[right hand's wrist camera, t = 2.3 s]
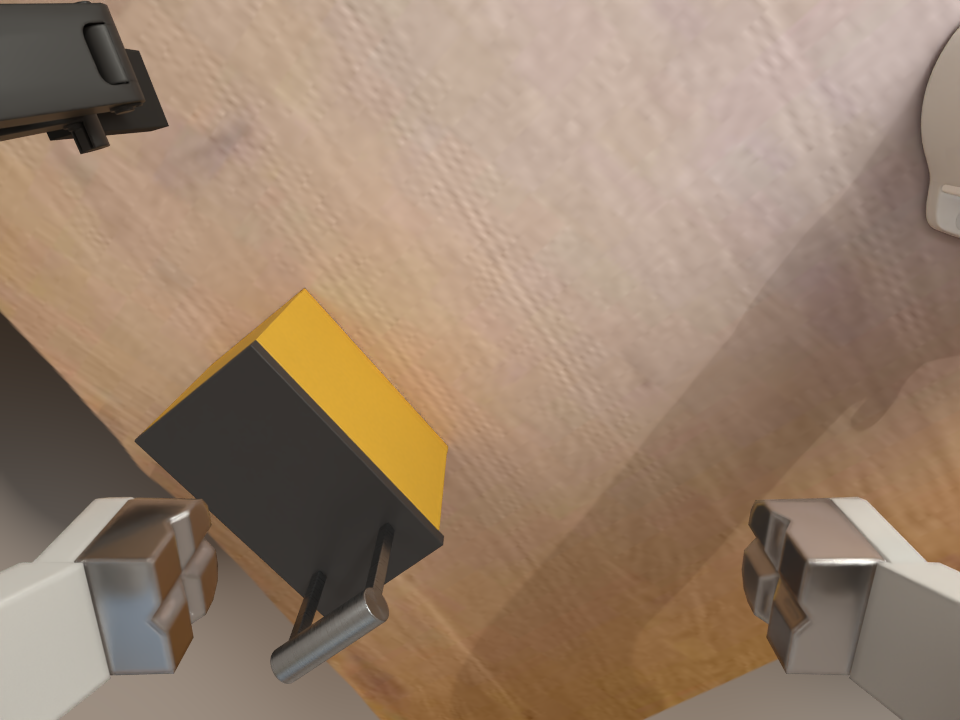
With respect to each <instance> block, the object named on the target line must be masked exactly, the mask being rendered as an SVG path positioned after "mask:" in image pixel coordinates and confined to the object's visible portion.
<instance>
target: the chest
mask: <svg viewBox="0 0 960 720" xmlns="http://www.w3.org/2000/svg"><path fill="white" fill-rule="evenodd" d="M255 340H257V341H258V342H259V344H260V345H261V346H262V347H263V348H264V349H265V350H266V351H267V352H268V353H269V354H270V355H271V356H272V357H273V358H274V359H275V360H276V361H277V362H278V363H279V364H280V365H281V367H282V368H283V369H284V370H285V371H286V372H287V373H288V374H289V375H290V376H291V377H292V378H293V379H294V380H295V381H296V382H297V383H298V384H299V385H300V386H301V387H302V388H303V389H304V391H305V392H306V393H307V394H308V395H309V396H310V397H311V398H312V399H313V400H314V401H315V402H316V403H317V404H318V405H319V406H320V407H321V408H322V409H323V410H324V411H325V412H326V414H327V415H328V416H329V417H330V418H331V419H332V420H333V421H334V422H335V423H336V424H337V425H338V426H339V427H340V428H341V429H342V430H343V431H344V432H345V433H346V434H347V435H348V437H349V438H350V439H351V440H352V441H353V442H354V443H355V444H356V445H357V446H358V447H359V448H360V449H361V450H362V451H363V452H364V453H365V454H366V455H367V456H368V457H369V458H370V459H371V461H372V462H373V463H374V464H375V465H376V466H377V467H378V468H379V469H380V470H381V471H382V472H383V473H384V474H385V475H386V476H387V477H388V478H389V479H390V480H391V481H392V482H393V484H394V485H395V486H396V487H397V488H398V489H399V490H400V491H401V492H402V493H403V494H404V495H405V496H406V497H407V498H408V499H409V500H410V501H411V502H412V503H413V504H414V505H415V506H416V508H417V509H418V510H419V511H420V512H421V513H422V514H423V515H424V516H425V517H426V518H427V519H428V520H429V521H430V522H431V523H432V524H433V525H434V526H435V527H436V528H437V529H438V531H439V527H440V517H441V506H442V496H443V486H444V475H445V465H446V455H447V451H448V446H447V445H446V444H445V443H444V442H443V440H442V439H441V438H440V437H439V436H438V435H437V434H436V433H435V432H434V431H433V429H432V428H431V427H430V426H429V425H428V424H427V423H426V422H425V421H424V420H423V418H422V417H421V416H420V415H419V414H418V413H417V412H416V411H415V410H414V408H413V407H412V406H411V405H410V404H409V403H408V402H407V401H406V400H405V399H404V397H403V396H402V395H401V394H400V393H399V392H398V391H397V390H396V389H395V387H394V386H393V385H392V384H391V383H390V382H389V381H388V380H387V379H386V378H385V376H384V375H383V374H382V373H381V372H380V371H379V370H378V369H377V368H376V367H375V365H374V364H373V363H372V362H371V361H370V360H369V359H368V358H367V357H366V355H365V354H364V353H363V352H362V351H361V350H360V349H359V348H358V347H357V346H356V344H355V343H354V342H353V341H352V340H351V339H350V338H349V337H348V336H347V334H346V333H345V332H344V331H343V330H342V329H341V328H340V327H339V326H338V325H337V323H336V322H335V321H334V320H333V319H332V318H331V317H330V316H329V315H328V313H327V312H326V311H325V310H324V309H323V308H322V307H321V306H320V305H319V304H318V302H317V301H316V300H315V299H314V298H313V297H312V296H311V295H310V294H309V293H308V291H307V290H306V289H305V288H304V289H303V290H301V291H300V292H299V293H298V294H296V295H295V296H294V297H293V298H292V299H290V300H289V301H288V302H287V303H286V304H284V305H283V306H282V307H281V308H280V309H278V310H277V311H276V312H275V313H274V314H272V315H271V316H270V317H269V318H268V319H266V320H265V321H264V322H263V323H261V324H260V325H259V326H258V327H257V328H255V329H254V330H253V331H252V332H251V333H249V334H248V335H247V336H246V337H245V338H243V339H242V340H241V341H240V342H239V343H237V344H236V345H235V346H234V347H233V348H231V349H230V350H229V351H228V352H226V353H225V354H224V355H223V356H222V357H220V358H219V359H218V360H217V361H216V362H214V363H213V364H212V365H211V366H210V367H209V368H208V369H207V370H206V371H205V372H204V373H203V374H202V375H201V376H200V377H199V378H198V379H197V380H196V381H195V382H194V383H193V384H192V385H191V386H190V387H189V388H188V389H187V390H186V391H185V392H184V393H182V394H181V395H180V396H179V397H178V398H177V399H176V400H175V401H174V402H173V403H172V404H171V405H170V406H169V407H168V408H167V409H166V410H165V411H164V412H163V413H162V414H161V415H160V416H159V417H158V418H157V419H156V420H155V421H154V422H153V423H152V424H151V425H153V424H154V423H155V422H156V421H157V420H159V419H160V418H161V417H162V416H163V415H165V414H166V413H167V412H168V411H170V410H171V409H172V408H173V407H174V406H176V405H177V404H178V403H179V402H180V401H182V400H183V399H184V398H185V397H187V396H188V395H189V394H190V393H191V392H193V391H194V390H195V389H196V388H197V387H199V386H200V385H201V384H202V383H204V382H205V381H206V380H207V379H208V378H210V377H211V376H212V375H213V374H214V373H216V372H217V371H218V370H219V369H221V368H222V367H223V366H224V365H225V364H227V363H228V362H229V361H230V360H231V359H233V358H234V357H235V356H236V355H238V354H239V353H240V352H241V351H242V350H244V349H245V348H246V347H247V346H248V345H250V344H251V343H252V342H253V341H255ZM151 425H150V426H151ZM150 426H149V427H150ZM149 427H148V428H149ZM148 428H147V429H148Z"/></svg>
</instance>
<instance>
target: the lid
mask: <svg viewBox="0 0 960 720" xmlns="http://www.w3.org/2000/svg"><path fill="white" fill-rule="evenodd" d="M135 442H136V443H137V444H138V445H139V446H140V447H141V448H142V449H143V450H144V451H145V452H146V453H147V454H149V455H150V456H151V457H152V458H153V459H154V460H155V461H156V462H157V463H158V464H159V465H160V466H162V467H163V468H164V469H165V470H166V471H167V472H168V473H169V474H170V475H171V476H172V477H173V478H175V479H176V480H177V481H178V482H179V483H180V484H181V485H182V486H183V487H184V488H185V489H186V490H188V491H189V492H190V493H191V494H192V495H193V496H194V497H195V498H196V499H202V500H203V501H204V502H205V503H206V504H207V505H208V509H209V511H210V512H211V513H212V514H214V515H215V516H216V517H217V518H218V519H219V520H220V521H221V522H222V523H223V524H224V525H225V526H227V527H228V528H229V529H230V530H231V531H232V532H233V533H234V534H235V535H236V536H237V537H238V538H240V539H241V540H242V541H243V542H244V543H245V544H246V545H247V546H248V547H249V548H250V549H251V550H253V551H254V552H255V553H256V554H257V555H258V556H259V557H260V558H261V559H262V560H263V561H264V562H266V563H267V564H268V565H269V566H270V567H271V568H272V569H273V570H274V571H275V572H276V573H277V574H278V575H280V576H281V577H282V578H283V579H284V580H285V581H286V582H287V583H288V584H289V585H290V586H291V587H293V588H294V589H295V590H296V591H297V592H298V593H299V594H300V595H301V596H302V597H303V598H304V599H303V602H302V605H301V608H300V610H299V613H298V616H297V619H296V622H295V624H294V627H293V630H292V633H291V636H290V639H289V641H288V642H286V643H285V644H283V645H282V646H280V647H279V648H277V649H276V650H275V651H274V652H273V653H272V655H271V668H272V671H273V673H274V675H275V676H276V677H277V679H279V680H280V681H281V682H283V683H286V684H289V683H293V682H294V681H296V680H297V679H299V678H300V677H302V676H303V675H305V674H306V673H308V672H309V671H311V670H312V669H314V668H315V667H317V666H318V665H320V664H321V663H323V662H325V661H326V660H328V659H329V658H331V657H332V656H334V655H335V654H337V653H338V652H340V651H341V650H343V649H344V648H346V647H347V646H349V645H350V644H352V643H353V642H355V641H356V640H358V639H360V638H361V637H363V636H364V635H366V634H367V633H369V632H370V631H372V630H373V629H375V628H376V627H378V626H379V625H381V624H382V623H384V622H385V621H386V620H387V619H388V616H389V609H388V605H387V603H386V601H385V599H384V597H383V596H382V592H383V587H384V584H386V583H387V582H389V581H390V580H392V579H393V578H395V577H396V576H398V575H399V574H401V573H402V572H404V571H405V570H407V569H408V568H410V567H411V566H413V565H414V564H416V563H417V562H419V561H420V560H422V559H423V558H424V557H426V556H427V555H429V554H430V553H432V552H433V551H435V550H436V549H438V548H439V547H441V546H442V545H443V540H444V536H443V535H442V534H441V533H440V532H439V531H438V529H437V528H436V527H435V526H434V525H433V524H432V523H431V522H430V521H429V520H428V519H427V518H426V517H425V516H424V515H423V514H422V513H421V512H420V511H419V510H418V509H417V508H416V506H415V505H414V504H413V503H412V502H411V501H410V500H409V499H408V498H407V497H406V496H405V495H404V494H403V493H402V492H401V491H400V490H399V489H398V488H397V487H396V486H395V485H394V484H393V482H392V481H391V480H390V479H389V478H388V477H387V476H386V475H385V474H384V473H383V472H382V471H381V470H380V469H379V468H378V467H377V466H376V465H375V464H374V463H373V462H372V461H371V459H370V458H369V457H368V456H367V455H366V454H365V453H364V452H363V451H362V450H361V449H360V448H359V447H358V446H357V445H356V444H355V443H354V442H353V441H352V440H351V439H350V438H349V437H348V435H347V434H346V433H345V432H344V431H343V430H342V429H341V428H340V427H339V426H338V425H337V424H336V423H335V422H334V421H333V420H332V419H331V418H330V417H329V416H328V415H327V414H326V412H325V411H324V410H323V409H322V408H321V407H320V406H319V405H318V404H317V403H316V402H315V401H314V400H313V399H312V398H311V397H310V396H309V395H308V394H307V393H306V392H305V391H304V389H303V388H302V387H301V386H300V385H299V384H298V383H297V382H296V381H295V380H294V379H293V378H292V377H291V376H290V375H289V374H288V373H287V372H286V371H285V370H284V369H283V368H282V367H281V365H280V364H279V363H278V362H277V361H276V360H275V359H274V358H273V357H272V356H271V355H270V354H269V353H268V352H267V351H266V350H265V349H264V348H263V347H262V346H261V345H260V344H259V342H258V341H257V340H255V341H253V342H252V343H251V344H250V345H248V346H247V347H246V348H245V349H244V350H242V351H241V352H240V353H239V354H238V355H236V356H235V357H234V358H233V359H231V360H230V361H229V362H228V363H227V364H225V365H224V366H223V367H222V368H221V369H219V370H218V371H217V372H216V373H214V374H213V375H212V376H211V377H210V378H208V379H207V380H206V381H205V382H204V383H202V384H201V385H200V386H199V387H197V388H196V389H195V390H194V391H193V392H191V393H190V394H189V395H188V396H187V397H185V398H184V399H183V400H182V401H180V402H179V403H178V404H177V405H176V406H174V407H173V408H172V409H171V410H170V411H168V412H167V413H166V414H165V415H163V416H162V417H161V418H160V419H159V420H157V421H156V422H155V423H154V424H153V425H151V426H150V427H149V428H148V429H146V430H145V431H144V432H143V433H142V434H141V435H140V436H139V437H138V438H136V439H135ZM316 610H317V611H319V612H320V613H321V614H322V615H323V616H324V617H323V618H321V619H320V620H319V621H317V622H316V623H314V624H313V625H312V622H313V619H314V615H315V612H316Z"/></svg>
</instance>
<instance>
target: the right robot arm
mask: <svg viewBox="0 0 960 720" xmlns="http://www.w3.org/2000/svg"><path fill="white" fill-rule="evenodd" d="M921 137H922V144H923V149H924V153H925V157H926V161H927V164H928V168H929V174H930V184H929V189H928V195H927V202H926V219H927V222H928V224H929V225H930V226H931V227H932V228H934V229H935V230H938V231H941V232H943V233H946V234H949V235H952V236H954V237H957V238H960V27H959V28H958V29H957V30H956V32H955V33H954V34H953V35H952V37H951V38H950V40H949V41H948V43H947V44H946V46H945V47H944V49H943V51H942V52H941V54H940V56H939V58H938V60H937V62H936V64H935V66H934V68H933V71H932V73H931V76H930V78H929V81H928V84H927V87H926V91H925V95H924V100H923V105H922V113H921ZM211 525H212V524H211V519H210V514H209V509H208V505H207V504H206V503H205V502H204V501H203V500H202V499H177V498H132V497H115V498H100V499H95V500H94V501H93V502H92V503H91V504H90V505H89V506H88V507H87V508H86V509H85V510H84V511H83V512H82V513H81V514H80V515H79V516H78V517H77V518H76V519H75V520H74V521H73V522H72V523H71V524H70V525H69V526H68V527H67V528H66V529H65V530H64V531H63V532H62V533H61V534H60V535H59V536H58V537H57V538H56V539H55V540H54V541H53V542H52V543H51V544H50V545H49V546H48V547H47V548H46V549H45V550H44V551H43V552H42V553H41V554H40V555H39V556H38V557H37V558H36V559H35V560H34V561H33V562H31V563H19V564H17V565H15V566H12V567H10V568H8V569H6V570H4V571H1V572H0V720H59V719H60V718H61V717H63V716H64V715H65V714H66V713H68V712H69V711H70V710H72V709H73V708H74V707H75V706H77V705H78V704H79V703H80V702H82V701H83V700H84V699H85V698H87V697H88V696H89V695H90V694H92V693H93V692H94V691H95V690H97V689H98V688H99V687H100V686H102V685H103V684H104V683H106V682H107V681H108V680H109V679H110V675H139V674H173V673H174V672H175V670H176V669H177V667H178V665H179V663H180V661H181V659H182V658H183V656H184V654H185V652H186V650H187V648H188V647H189V645H190V643H191V641H192V639H193V632H192V626H191V624H192V623H194V622H195V621H197V620H198V619H200V618H201V617H203V616H204V615H206V613H207V611H208V609H209V607H210V605H211V603H212V601H213V598H214V594H215V590H216V585H217V581H218V562H217V555H216V550H215V549H214V548H213V547H212V546H211V545H210V544H209V543H208V542H207V541H206V540H205V539H204V536H205V534H206V533H207V531H208V530H209V528H210V526H211ZM748 525H749V527H750V528H751V530H752V531H753V533H754V535H755V536H756V539H755V540H754V541H753V542H752V543H751V544H750V545H749V546H748V547H747V548H746V549H745V550H744V556H743V564H742V577H743V587H744V591H745V595H746V598H747V601H748V603H749V605H750V607H751V609H752V611H753V613H754V615H756V616H757V617H759V618H760V619H762V620H763V621H765V622H766V623H768V624H769V626H768V632H767V639H768V641H769V643H770V645H771V647H772V648H773V650H774V652H775V654H776V656H777V658H778V659H779V661H780V663H781V665H782V667H783V669H784V670H785V672H786V673H787V674H821V675H850V677H849V678H850V679H851V680H852V681H854V682H855V683H856V684H857V685H859V686H860V687H861V688H862V689H864V690H865V691H866V692H867V693H869V694H870V695H871V696H872V697H874V698H875V699H876V700H877V701H879V702H880V703H881V704H882V705H884V706H885V707H886V708H887V709H889V710H890V711H891V712H893V713H894V714H895V715H896V716H898V717H899V718H900V719H901V720H960V572H959V571H956V570H954V569H952V568H950V567H948V566H945V565H943V564H941V563H929V562H927V561H926V560H925V559H924V558H923V557H922V556H921V555H920V554H919V553H918V552H917V551H916V550H915V549H914V548H913V547H912V546H911V545H910V544H909V543H908V542H907V541H906V540H905V539H904V538H903V537H902V536H901V535H900V534H899V533H898V532H897V531H896V530H895V529H894V528H893V527H892V526H891V525H890V524H889V523H888V522H887V521H886V520H885V519H884V518H883V517H882V516H881V515H880V514H879V513H878V512H877V510H876V509H875V508H874V507H873V506H872V505H871V504H870V503H869V502H868V501H867V500H864V499H862V498H859V497H843V498H817V499H778V500H755V502H754V504H753V506H752V509H751V512H750V518H749V524H748Z"/></svg>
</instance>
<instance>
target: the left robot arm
mask: <svg viewBox="0 0 960 720" xmlns="http://www.w3.org/2000/svg"><path fill="white" fill-rule="evenodd" d="M167 126H169V125H168V122H167V120H166V117H165V115H164V112H163V110H162V107H161V105H160V102H159V100H158V97H157V95H156V92H155V90H154V87H153V85H152V82H151V80H150V77H149V75H148V72H147V70H146V67H145V65H144V62H143V60H142V57H141V55H140V52H139V51H137V50H130V49H125V48H124V46H123V43H122V41H121V38H120V36H119V33H118V31H117V28H116V26H115V24H114V21H113V19H112V16H111V14H110V11H109V9H108V6H107V5H106V4H102V3H91V2H89V1H81V2H76V3H48V4H0V141H4V140H9V139H14V138H20V137H25V136H30V135H35V134H40V133H45V132H47V134H48V137H49V139H50V141H51V140H62V139H73V138H74V140H75V143H76V145H77V147H78V149H79V152H80V154H83V153H88V152H92V151H95V150H99V149H102V148H105V147H108V146H110V144H109V142H108V140H107V137H106V135H116V134H127V133H137V132H148V131H153V130H157V129H160V128H164V127H167Z"/></svg>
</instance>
